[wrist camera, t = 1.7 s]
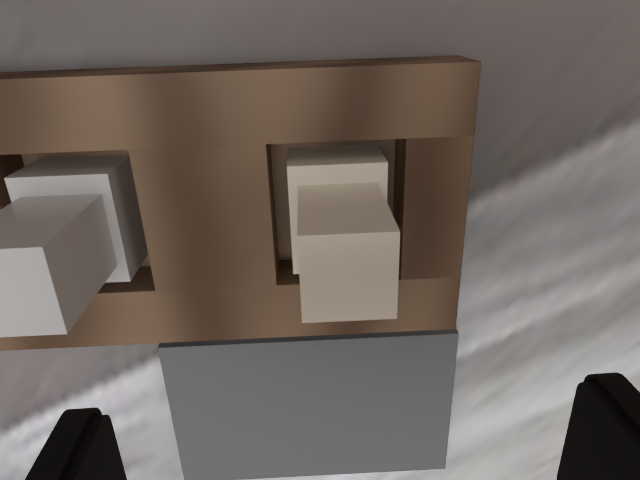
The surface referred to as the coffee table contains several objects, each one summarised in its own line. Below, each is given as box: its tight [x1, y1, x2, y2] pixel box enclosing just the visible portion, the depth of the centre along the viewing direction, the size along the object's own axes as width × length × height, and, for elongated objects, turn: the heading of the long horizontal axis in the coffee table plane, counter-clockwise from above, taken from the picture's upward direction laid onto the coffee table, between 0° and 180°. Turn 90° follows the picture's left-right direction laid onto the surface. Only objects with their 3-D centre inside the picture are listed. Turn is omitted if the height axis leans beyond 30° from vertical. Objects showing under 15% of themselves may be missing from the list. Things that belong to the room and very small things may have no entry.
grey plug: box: [0, 154, 148, 337], centre depth 20 cm, size 4×5×8 cm
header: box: [0, 56, 481, 351], centre depth 22 cm, size 22×12×3 cm, turn 92°
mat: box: [158, 329, 458, 480], centre depth 29 cm, size 16×10×1 cm, turn 92°
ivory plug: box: [287, 144, 400, 323], centre depth 20 cm, size 4×5×8 cm
